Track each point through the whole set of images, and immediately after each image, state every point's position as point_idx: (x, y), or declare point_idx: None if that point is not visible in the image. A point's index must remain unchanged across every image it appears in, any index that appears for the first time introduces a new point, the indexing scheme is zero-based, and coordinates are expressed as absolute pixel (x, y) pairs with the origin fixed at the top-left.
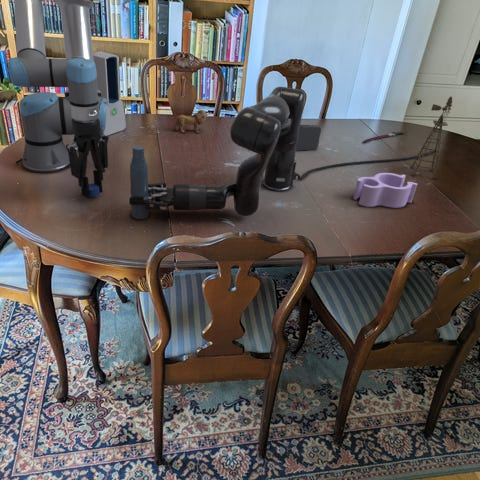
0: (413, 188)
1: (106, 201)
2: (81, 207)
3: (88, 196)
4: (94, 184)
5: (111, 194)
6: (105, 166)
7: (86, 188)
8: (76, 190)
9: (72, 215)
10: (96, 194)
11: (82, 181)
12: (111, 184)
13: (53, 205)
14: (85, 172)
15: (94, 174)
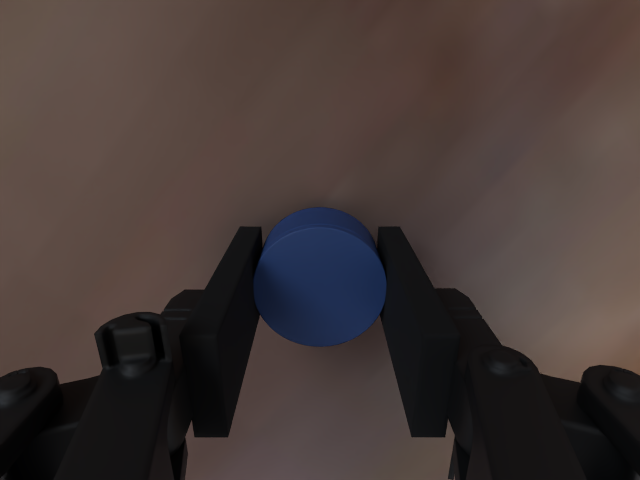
0: None
1: (282, 125)
2: (482, 186)
3: (394, 229)
4: (271, 308)
5: (176, 190)
6: (39, 391)
7: (418, 270)
8: (327, 388)
9: (619, 134)
10: (325, 209)
11: (477, 333)
12: (84, 310)
13: (570, 332)
14: (485, 407)
15: (236, 384)
